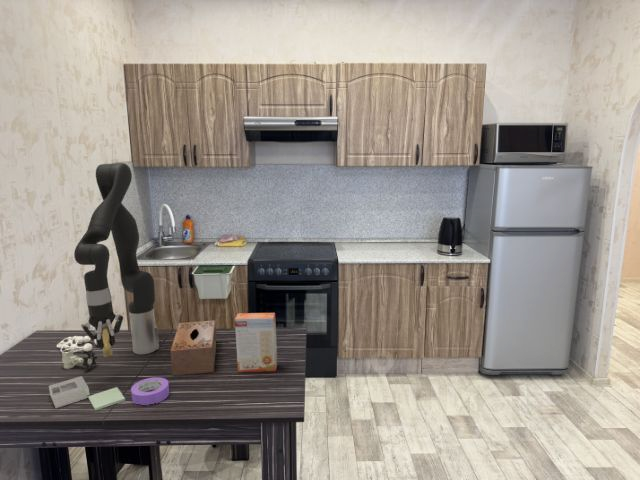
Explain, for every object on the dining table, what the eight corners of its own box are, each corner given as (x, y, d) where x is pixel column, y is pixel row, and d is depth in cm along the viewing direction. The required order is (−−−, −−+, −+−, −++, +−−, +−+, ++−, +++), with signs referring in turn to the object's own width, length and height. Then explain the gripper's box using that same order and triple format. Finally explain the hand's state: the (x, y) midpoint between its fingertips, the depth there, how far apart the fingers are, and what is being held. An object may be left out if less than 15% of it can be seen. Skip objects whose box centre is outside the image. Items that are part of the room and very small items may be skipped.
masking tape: (134, 390, 154) (132, 379, 154) (170, 384, 157) (169, 374, 157) (130, 408, 143) (128, 398, 143) (168, 402, 146) (167, 392, 146)
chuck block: (83, 385, 157) (81, 374, 156) (89, 397, 150) (88, 386, 149) (50, 395, 151) (48, 384, 150) (55, 408, 144) (53, 396, 143)
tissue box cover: (213, 372, 165) (211, 347, 163) (172, 376, 163) (170, 350, 161) (216, 342, 190) (215, 320, 188) (181, 345, 188) (179, 323, 186)
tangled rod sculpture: (46, 353, 185) (43, 344, 184) (76, 336, 198) (74, 328, 197) (79, 360, 177) (77, 350, 176) (109, 342, 190) (107, 333, 189)
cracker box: (277, 364, 170) (275, 311, 166) (275, 372, 164) (273, 318, 160) (240, 364, 171) (237, 312, 166) (237, 372, 165) (234, 318, 160)
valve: (58, 370, 168) (85, 373, 166) (55, 354, 167) (83, 357, 164) (71, 362, 174) (98, 365, 172) (69, 346, 173) (96, 349, 170)
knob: (112, 350, 163) (107, 318, 160) (115, 354, 160) (110, 321, 157) (100, 354, 160) (95, 321, 157) (103, 358, 157) (98, 325, 154)
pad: (117, 389, 155) (117, 386, 154) (125, 400, 148) (124, 398, 148) (88, 398, 149) (88, 396, 149) (95, 410, 142) (95, 408, 142)
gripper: (117, 292, 162) (123, 337, 166) (74, 303, 153) (82, 349, 158) (124, 298, 157) (130, 343, 161) (79, 309, 148) (87, 357, 152)
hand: (106, 346), depth 159 cm, fingers closed on knob, 3 cm apart
